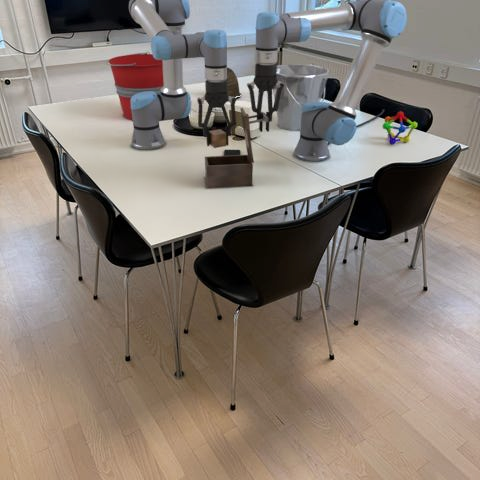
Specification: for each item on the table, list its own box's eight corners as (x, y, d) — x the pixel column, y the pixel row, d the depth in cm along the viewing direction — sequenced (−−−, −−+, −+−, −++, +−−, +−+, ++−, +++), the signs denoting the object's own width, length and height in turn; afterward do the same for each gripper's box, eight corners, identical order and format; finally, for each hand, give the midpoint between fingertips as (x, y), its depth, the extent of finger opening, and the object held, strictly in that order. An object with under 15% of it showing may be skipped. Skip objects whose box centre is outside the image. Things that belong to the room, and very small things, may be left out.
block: (214, 148, 161) (214, 135, 159) (208, 144, 165) (208, 131, 162) (226, 146, 163) (226, 133, 161) (220, 141, 167) (220, 129, 164)
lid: (244, 116, 155) (268, 111, 155) (240, 108, 163) (263, 103, 163) (251, 163, 164) (274, 158, 165) (247, 153, 173) (268, 149, 173)
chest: (207, 188, 167) (206, 166, 163) (205, 177, 176) (204, 156, 171) (252, 185, 169) (252, 164, 165) (248, 175, 178) (248, 154, 173)
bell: (227, 105, 294) (202, 96, 282) (238, 66, 289) (213, 55, 277) (243, 108, 280) (217, 98, 268) (255, 66, 275) (229, 55, 263)
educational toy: (377, 146, 209) (379, 114, 202) (384, 138, 219) (386, 107, 211) (411, 149, 202) (415, 116, 195) (417, 141, 212) (420, 109, 204)
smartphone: (222, 162, 187) (224, 149, 200) (222, 163, 188) (224, 150, 200) (240, 162, 187) (240, 149, 200) (240, 163, 188) (240, 151, 200)
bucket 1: (122, 105, 264) (115, 51, 248) (181, 105, 263) (177, 51, 248) (106, 122, 235) (96, 62, 219) (171, 123, 234) (167, 63, 218)
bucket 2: (296, 138, 215) (301, 78, 201) (255, 124, 234) (256, 68, 219) (335, 125, 232) (342, 70, 217) (294, 113, 251) (297, 61, 236)
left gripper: (188, 83, 147) (192, 149, 160) (245, 81, 150) (244, 147, 162) (187, 78, 154) (191, 142, 166) (242, 76, 156) (241, 140, 168)
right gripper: (246, 65, 147) (245, 134, 160) (289, 64, 149) (285, 132, 161) (243, 61, 153) (242, 128, 166) (284, 60, 155) (281, 126, 168)
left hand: (217, 144), depth 164 cm, fingers closed on block, 6 cm apart
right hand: (264, 130), depth 164 cm, fingers closed on lid, 2 cm apart
